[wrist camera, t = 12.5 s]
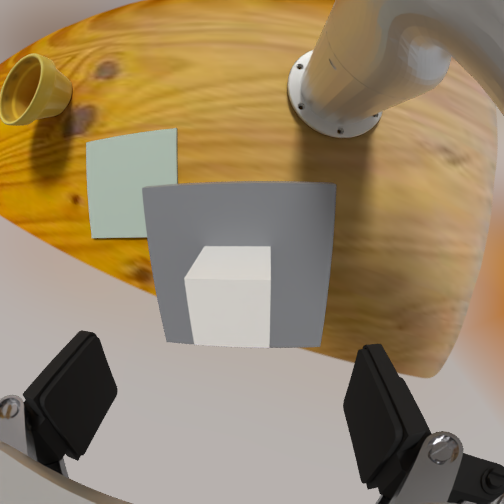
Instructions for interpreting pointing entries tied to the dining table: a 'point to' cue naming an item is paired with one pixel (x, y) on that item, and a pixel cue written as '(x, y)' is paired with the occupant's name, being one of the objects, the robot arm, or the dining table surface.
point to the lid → (241, 261)
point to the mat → (127, 179)
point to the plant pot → (33, 91)
